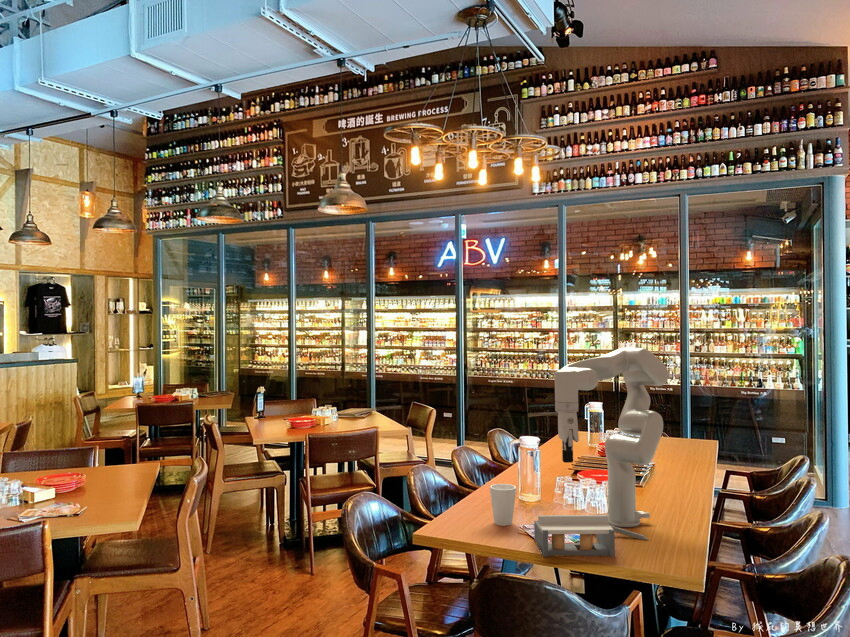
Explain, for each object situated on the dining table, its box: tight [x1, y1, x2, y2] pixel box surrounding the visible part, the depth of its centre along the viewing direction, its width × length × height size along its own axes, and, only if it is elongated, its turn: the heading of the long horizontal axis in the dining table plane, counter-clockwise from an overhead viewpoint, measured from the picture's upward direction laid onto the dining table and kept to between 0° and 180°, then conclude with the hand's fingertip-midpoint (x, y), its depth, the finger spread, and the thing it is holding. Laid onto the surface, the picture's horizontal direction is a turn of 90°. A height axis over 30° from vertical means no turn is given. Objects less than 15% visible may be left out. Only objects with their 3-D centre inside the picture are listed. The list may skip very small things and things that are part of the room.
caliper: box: [609, 524, 650, 541], centre depth 212 cm, size 20×1×6 cm, turn 66°
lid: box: [537, 514, 613, 535], centre depth 197 cm, size 22×7×4 cm, turn 90°
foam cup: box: [489, 483, 517, 526], centre depth 227 cm, size 10×9×13 cm
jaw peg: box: [579, 534, 594, 550], centre depth 197 cm, size 4×4×6 cm
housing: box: [533, 520, 616, 558], centre depth 201 cm, size 22×15×8 cm
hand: (567, 461), depth 209 cm, fingers closed
